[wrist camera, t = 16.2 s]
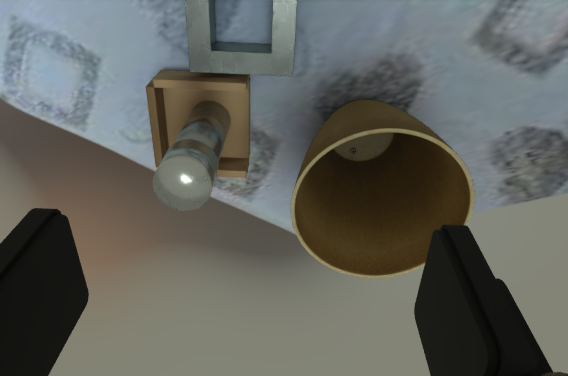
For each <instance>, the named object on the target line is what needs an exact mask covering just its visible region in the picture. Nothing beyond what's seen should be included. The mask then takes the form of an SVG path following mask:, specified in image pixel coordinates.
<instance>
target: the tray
mask: <svg viewBox="0 0 568 376" xmlns="http://www.w3.org/2000/svg"><path fill="white" fill-rule="evenodd" d="M146 93H147V101H148V108H149V116H150V124H151V132H152V140H153V148H154V156H155V164H156V167H159V165H160V163H161V161H162V160H163V158H164V156H165V154H166V152H167V150H168V149H169V148H170V146H171V145H173V144H174V142H175V141H176V139H177V137H178V135H179V133H180V131H181V130H182V128H183V126H184V124H185V122H186V120H187V119H188V117H189V115H190V113H191V111H192V109H193V108H194V107H195V106H196V105H197V104H198V103H200V102H202V101H215V102H218V103H220V104H221V105H223V106H224V107H225V108H226V109H227V111H228V112H229V115H230V118H231V124H230V128H229V131H228V134H227V137H226V140H225V143H224V147H223V150H222V153H221V156H220V159H219V162H218V164H219V168H218V172H217V176H218V177H240V178H246V177H247V172H248V166H249V155H250V78H249V74H228V73H207V72H190V71H174V70H160V72H159V73H158V74H157V75H156V76H155V77H154V78H153V79H152V80H151V81H150V83H149V84H148V85H147V86H146Z"/></svg>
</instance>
